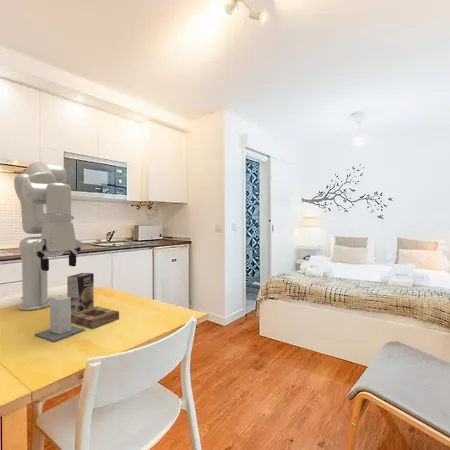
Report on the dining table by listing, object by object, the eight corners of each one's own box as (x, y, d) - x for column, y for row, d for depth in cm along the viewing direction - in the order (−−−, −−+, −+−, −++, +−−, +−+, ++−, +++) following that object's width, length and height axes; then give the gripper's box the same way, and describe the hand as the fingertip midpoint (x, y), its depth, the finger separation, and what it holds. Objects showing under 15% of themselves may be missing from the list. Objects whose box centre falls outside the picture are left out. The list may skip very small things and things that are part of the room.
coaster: (34, 335, 99) (34, 333, 99) (65, 325, 108) (65, 323, 108) (54, 342, 93) (54, 340, 93) (84, 330, 103) (84, 329, 103)
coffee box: (80, 316, 118) (79, 277, 118) (66, 315, 120) (66, 276, 119) (94, 309, 127) (94, 272, 127) (81, 308, 128) (81, 272, 128)
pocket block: (69, 322, 111) (69, 314, 111) (96, 313, 122) (96, 306, 122) (92, 328, 105) (92, 320, 105) (119, 318, 115) (119, 311, 115)
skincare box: (71, 330, 102) (71, 297, 101) (59, 335, 98) (59, 300, 98) (61, 327, 104) (60, 294, 104) (49, 331, 101) (48, 297, 100)
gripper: (75, 218, 109) (75, 263, 110) (26, 219, 94) (26, 271, 95) (88, 219, 106) (88, 265, 106) (39, 219, 90) (39, 273, 91)
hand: (59, 268), depth 100 cm, fingers open, 9 cm apart
